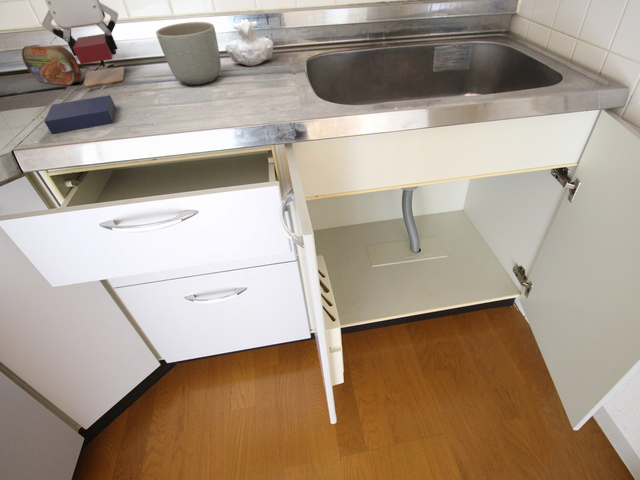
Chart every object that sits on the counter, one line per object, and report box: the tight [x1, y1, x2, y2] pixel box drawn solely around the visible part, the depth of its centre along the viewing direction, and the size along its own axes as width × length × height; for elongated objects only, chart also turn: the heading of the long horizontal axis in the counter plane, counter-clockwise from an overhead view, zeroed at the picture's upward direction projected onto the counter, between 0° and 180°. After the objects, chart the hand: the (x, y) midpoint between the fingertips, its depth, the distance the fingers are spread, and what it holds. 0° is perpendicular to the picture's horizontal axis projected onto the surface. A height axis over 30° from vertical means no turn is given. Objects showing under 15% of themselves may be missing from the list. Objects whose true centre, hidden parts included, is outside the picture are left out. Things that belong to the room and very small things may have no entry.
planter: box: [155, 21, 222, 86], centre depth 90 cm, size 12×12×11 cm
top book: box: [73, 33, 114, 65], centre depth 94 cm, size 7×10×4 cm
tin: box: [21, 44, 82, 86], centre depth 94 cm, size 15×3×8 cm, turn 71°
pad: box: [81, 66, 126, 89], centre depth 98 cm, size 9×12×1 cm
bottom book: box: [43, 94, 117, 135], centre depth 78 cm, size 11×9×2 cm
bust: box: [225, 18, 274, 67], centre depth 98 cm, size 12×8×11 cm
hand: (97, 55), depth 95 cm, fingers closed on top book, 6 cm apart
